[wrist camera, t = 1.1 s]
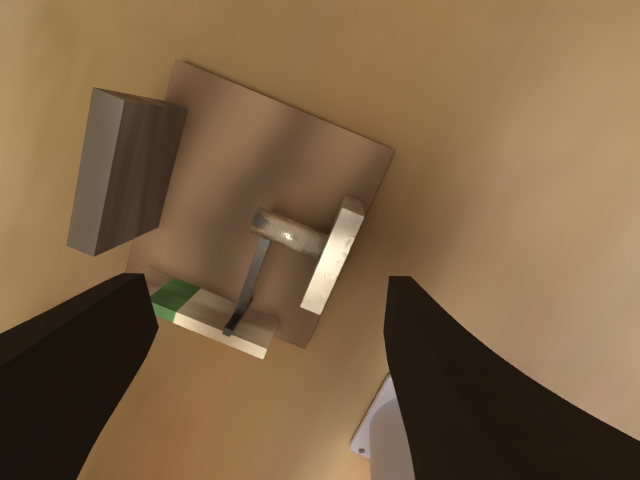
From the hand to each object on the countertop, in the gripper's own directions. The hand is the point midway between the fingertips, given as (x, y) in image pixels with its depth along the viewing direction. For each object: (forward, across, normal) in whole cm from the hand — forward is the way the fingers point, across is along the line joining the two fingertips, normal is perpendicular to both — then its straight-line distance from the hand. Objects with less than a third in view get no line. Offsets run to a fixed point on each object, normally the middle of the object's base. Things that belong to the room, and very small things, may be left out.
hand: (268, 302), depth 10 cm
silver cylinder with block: (+11, 0, +5) cm, 12 cm away
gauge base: (+13, +3, +3) cm, 14 cm away
